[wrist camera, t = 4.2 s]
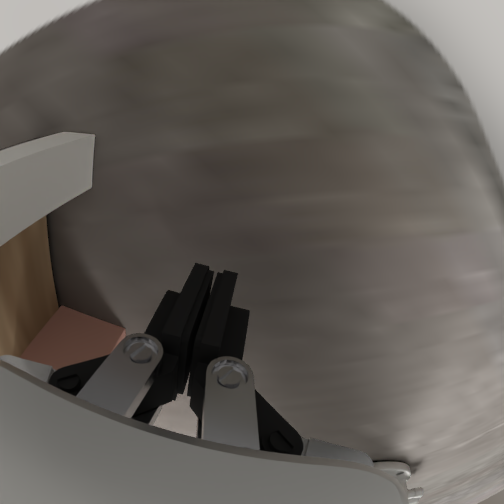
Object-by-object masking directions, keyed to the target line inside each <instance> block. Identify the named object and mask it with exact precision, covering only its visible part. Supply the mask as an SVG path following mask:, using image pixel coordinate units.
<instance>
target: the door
mask: <svg viewBox="0 0 504 504" xmlns="http://www.w3.org/2000/svg"><path fill="white" fill-rule="evenodd" d="M36 139H39V138H36ZM32 140H35V139H32ZM32 140H29V141H32ZM29 141H26V142H29ZM22 143H25V142H22ZM22 143H19V144H22ZM19 144H16V145H19ZM16 145H13V146H16ZM13 146H10V147H13ZM10 147H7V148H10ZM7 148H4V149H7ZM4 149H1V150H4ZM1 150H0V151H1ZM58 309H59V307H58V302H57V297H56V291H55V286H54V280H53V273H52V267H51V260H50V252H49V243H48V233H47V221H46V215H45V216H44V217H42V218H41V219H39V220H38V221H36V222H35V223H33V224H32V225H30V226H29V227H27V228H26V229H24V230H23V231H21V232H20V233H18V234H17V235H16V236H14V237H13V238H11V239H10V240H9V241H7V242H6V243H4V244H3V245H2V246H0V356H3V355H12V356H15V357H20V356H21V355H22V353H23V352H24V351H25V349H26V348H27V347H28V346H29V344H30V343H31V342H32V340H33V339H34V338H35V337H36V335H37V334H38V333H39V332H40V331H41V329H42V328H43V327H44V326H45V324H46V323H47V322H48V321H49V320H50V318H51V317H52V316H53V315H54V314H55V312H56V311H57V310H58Z"/></svg>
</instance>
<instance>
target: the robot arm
mask: <svg viewBox="0 0 504 504" xmlns="http://www.w3.org/2000/svg"><path fill="white" fill-rule="evenodd" d="M213 274H214V271H211V270H209V266H206V265H202V264H198V263H195V265H194V267H193V269H192V271H191V273H190V275H189V277H188V279H187V281H186V283H185V285H184V287H183V289H182V291H181V293H177V292H174V291H170V290H168V291H167V292H166V294H165V296H164V297H163V299H162V301H161V303H160V305H159V307H158V309H157V310H156V312H155V314H154V316H153V318H152V320H151V322H150V324H149V325H148V327H147V329H146V331H145V333H144V334H143V333H136V334H131V335H128V336H126V337H125V338H124V339H122V340H121V341H120V343H119V344H118V345H117V346H116V347H115V349H114V350H113V351H112V352H111V353H110V354H109V355H105V356H102V357H98V358H95V359H91V360H87V361H84V362H80V363H76V364H73V365H69V366H65V367H62V368H60V369H57V370H55V369H53V367H52V366H50V365H45V364H41V363H37V362H33V361H30V360H26V359H22V358H19V357H15V356H12V355H3V356H0V504H417V503H418V502H419V499H420V497H422V496H423V493H424V490H423V488H422V487H420V488H414V489H411V490H408V489H407V485H406V482H407V481H408V479H409V478H410V476H411V471H410V467H409V465H407V464H405V463H402V462H393V461H387V462H374V463H373V462H372V460H371V458H370V457H369V456H368V455H367V454H366V453H364V452H362V451H359V450H355V449H351V448H347V447H343V446H339V445H335V444H331V443H328V442H324V441H321V440H317V439H314V438H310V439H309V440H308V439H305V438H302V437H301V436H300V435H299V434H298V432H297V431H296V430H295V429H294V428H293V427H292V426H291V425H290V424H289V423H288V422H287V421H286V420H285V419H284V418H283V417H282V416H281V415H280V414H279V413H278V412H277V411H276V410H275V409H274V408H273V407H272V406H271V405H270V404H269V403H268V402H267V401H266V400H265V399H264V398H263V397H262V396H261V395H260V394H259V393H258V392H257V391H256V390H255V387H254V376H253V372H252V370H251V368H250V367H249V365H247V364H246V363H245V362H244V361H242V358H243V352H244V345H245V339H246V332H247V326H248V319H249V312H250V310H246V309H241V308H237V307H233V306H230V305H231V300H232V296H233V292H234V288H235V283H236V279H237V275H238V273H235V272H230V271H226V270H224V272H223V273H219V272H218V273H217V276H216V279H215V282H214V285H213V288H212V291H211V285H212V280H213ZM210 291H211V293H210ZM189 373H190V377H189V384H188V392H187V396H191V399H190V407H191V409H192V410H193V411H194V413H195V414H196V415H197V417H198V418H197V430H196V438H195V437H191V436H187V435H183V434H179V433H176V432H172V431H169V430H165V429H162V428H158V427H155V426H153V424H154V422H155V420H156V418H157V417H158V415H159V413H160V411H161V409H162V405H164V404H166V403H169V402H171V401H172V400H174V401H175V400H176V397H177V394H178V393H179V394H183V392H184V389H185V386H186V383H187V380H188V376H189Z"/></svg>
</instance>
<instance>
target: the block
mask: <svg viewBox="0 0 504 504" xmlns="http://www.w3.org/2000/svg"><path fill="white" fill-rule="evenodd" d="M125 337H126V332H125V328H123V327H120V326H117V325H114V324H111V323H108V322H105V321H102V320H100V319H97V318H94V317H91V316H89V315H86V314H83V313H81V312H78V311H75V310H73V309H70V308H68V307H65V306H63V305H61V307H60V308H59V309H58V310H57V311H56V312H55V314H54V315H53V316H52V317H51V318H50V320H49V321H48V322H47V323H46V324H45V326H44V327H43V328H42V329H41V331H40V332H39V333H38V334H37V335H36V337H35V338H34V339H33V340H32V342H31V343H30V344H29V346H28V347H27V348H26V349H25V351H24V352H23V353H22V355H21V356H20V357H19V358H22V359H26V360H30V361H33V362H37V363H41V364H45V365H50V366H52V367H53V369H55V370H57V369H60V368H62V367H65V366H69V365H73V364H76V363H80V362H84V361H87V360H91V359H95V358H98V357H102V356H105V355H109V354H110V353H111V352H112V351H113V350H114V349H115V347H116V346H117V345H118V344H119V343H120V341H121V340H122V339H124V338H125Z"/></svg>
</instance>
